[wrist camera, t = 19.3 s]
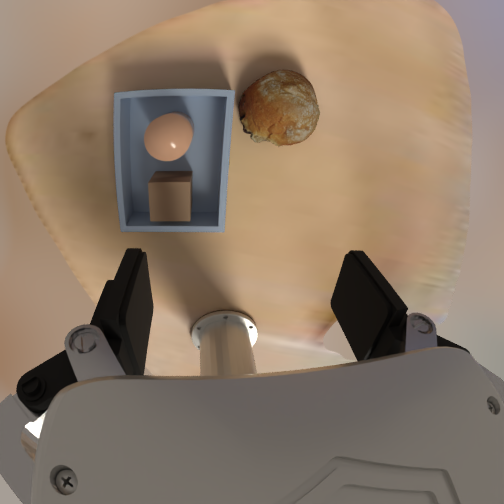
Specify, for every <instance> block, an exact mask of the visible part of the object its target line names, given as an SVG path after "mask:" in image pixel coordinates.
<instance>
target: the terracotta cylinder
mask: <svg viewBox="0 0 504 504" xmlns="http://www.w3.org/2000/svg"><path fill="white" fill-rule="evenodd" d="M194 132H195V127H194V123H193V121H192V119H191V118H190V117H189V116H188V115H187V114H185V113H183V112H179V111H174V112H170V113H167V114H165V115H162V116H160V117H158V118H156V119H154V120H153V121H152V122H151V123H150V124H149V125H148V127H147V129H146V131H145V134H144V144H145V147H146V149H147V151H148V152H149V154H150V155H151V156H153V157H154V158H156V159H158V160H161V161H173V160H176V159H178V158H180V157H181V156H182V155H184V153H185V152H186V151H187V150H188V148H189V146H190V143H191V141H192V138H193V136H194Z"/></svg>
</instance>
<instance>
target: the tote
mask: <svg viewBox="0 0 504 504" xmlns="http://www.w3.org/2000/svg"><path fill="white" fill-rule="evenodd" d="M234 96H235V90H219V89H156V90H139V91H127V92H116V93H114V160H115V178H116V191H117V202H118V212H119V221H120V229H121V232H224V231H225V214H226V198H227V183H228V168H229V155H230V142H231V130H232V118H233V107H234ZM174 111H179V112H183V113H185V114H187V115H188V116H189V117H190V118H191V119H192V121H193V123H194V127H195V132H194V136H193V138H192V141H191V143H190V146H189V148H188V150H187V151H186V152H185V153H184V155H182V156H181V157H180V158H178V159H176V160H173V161H161V160H158V159H156V158H154V157H153V156H151V155H150V154H149V152H148V151H147V149H146V147H145V144H144V134H145V131H146V129H147V127H148V125H149V124H150V123H151V122H152V121H153V120H154V119H156V118H158V117H160V116H162V115H165V114H167V113H170V112H174ZM155 171H193V178H192V211H191V219H190V221H150V209H149V192H148V182H149V180H150V179H151V177H152V176H153V174H154V173H155Z"/></svg>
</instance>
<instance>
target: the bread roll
mask: <svg viewBox="0 0 504 504" xmlns="http://www.w3.org/2000/svg"><path fill="white" fill-rule="evenodd" d="M239 112H240V120H241V122H242V124H243V131H244V132H245V133H248V134H251V136H250V137H251V139H252V140H253V141H254V142H257V143H260V142H261V141H271V142H272V143H273V144H275V145H276V146H278V147H279V146H282V145H293V144H296V143H300V142H302V141H304V140H306V139H307V138H308V137H309V136H310V135H311V134H312V133H313V131H314V130H315V128H316V125H317V121H318V119H319V115H320V111H319V108H318V105H317V99H316V95H315V91H314V89H313V86H312V85H311V83H310V82H309V81H308V80H307V79H306V78H305V77H304V76H302V75H301V74H299V73H297V72H294V71H290V70H277V71H273V72H271V73H270V74H267V75H266V76H264V77H262V78H261V79H259V80H257V81H256V82H255V83H253V84H252V85H251V86H250V87H248V89H247V90H246V91H244V93H243V95H242V99H241V100H240V102H239Z"/></svg>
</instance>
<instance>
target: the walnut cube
mask: <svg viewBox="0 0 504 504" xmlns="http://www.w3.org/2000/svg"><path fill="white" fill-rule="evenodd" d="M192 178H193V171H155V173H154V174H153V176H152V177H151V179H150V180H149V182H148V192H149V209H150V221H190V219H191V211H192Z"/></svg>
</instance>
